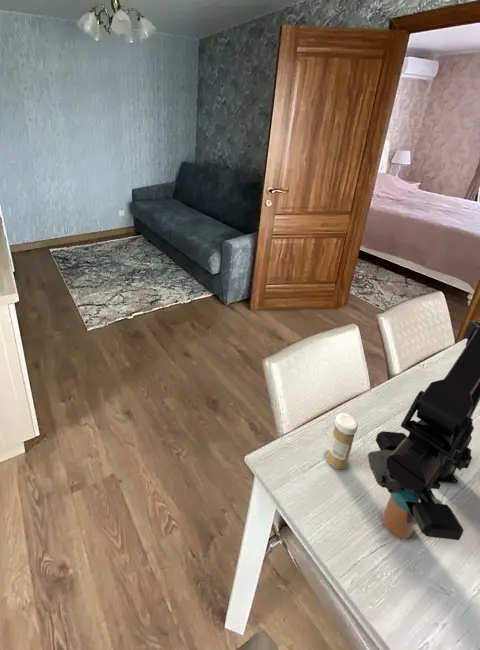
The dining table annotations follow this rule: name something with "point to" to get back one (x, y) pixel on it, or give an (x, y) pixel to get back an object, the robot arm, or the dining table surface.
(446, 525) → the robot arm
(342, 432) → the sprinkles bottle
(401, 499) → the lid
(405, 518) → the jar
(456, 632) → the dining table surface
